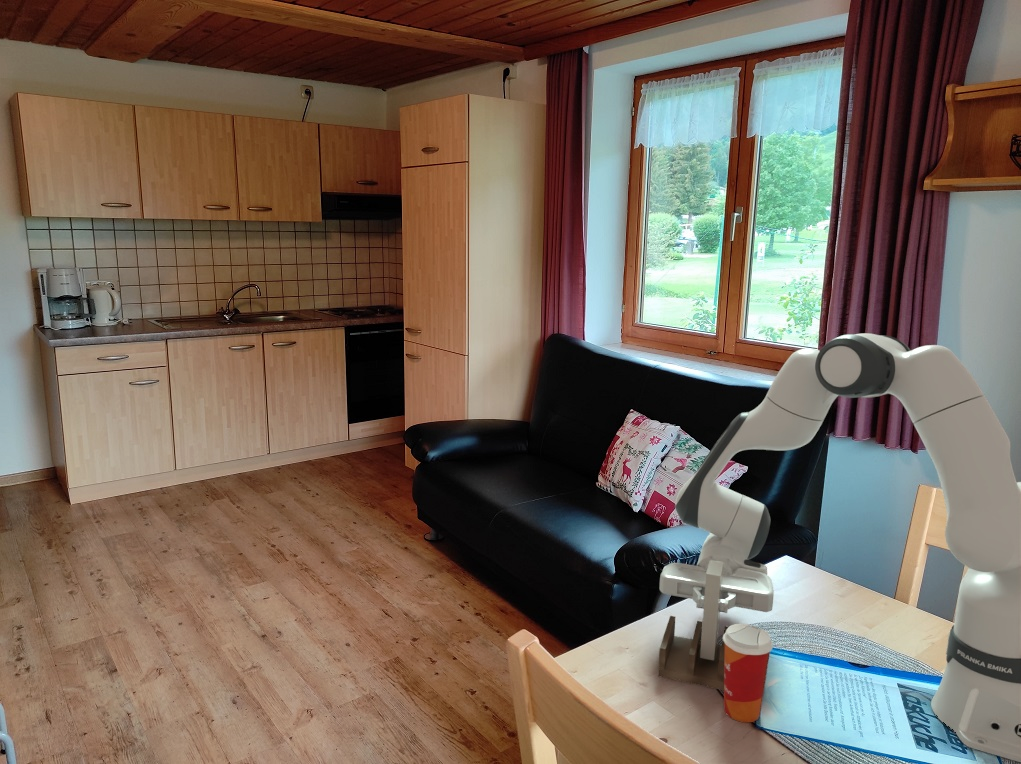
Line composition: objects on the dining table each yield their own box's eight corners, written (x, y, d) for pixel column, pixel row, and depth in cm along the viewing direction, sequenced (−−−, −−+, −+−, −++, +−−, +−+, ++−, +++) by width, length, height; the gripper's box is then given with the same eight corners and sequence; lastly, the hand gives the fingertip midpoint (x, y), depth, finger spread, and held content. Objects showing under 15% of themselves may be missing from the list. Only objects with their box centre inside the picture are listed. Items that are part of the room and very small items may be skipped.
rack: (756, 659, 138) (758, 632, 137) (753, 696, 127) (755, 667, 126) (668, 642, 144) (670, 615, 142) (658, 676, 132) (659, 648, 131)
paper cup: (729, 691, 128) (735, 616, 125) (773, 710, 124) (780, 632, 121) (709, 713, 122) (715, 635, 120) (755, 734, 118) (762, 653, 115)
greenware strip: (717, 643, 137) (723, 561, 134) (714, 660, 132) (720, 576, 128) (703, 640, 138) (709, 559, 135) (700, 657, 132) (706, 573, 129)
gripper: (665, 549, 148) (653, 579, 135) (775, 567, 141) (773, 600, 128) (664, 579, 149) (651, 611, 136) (772, 597, 142) (770, 634, 129)
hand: (711, 606), depth 132 cm, fingers closed on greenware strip, 2 cm apart
